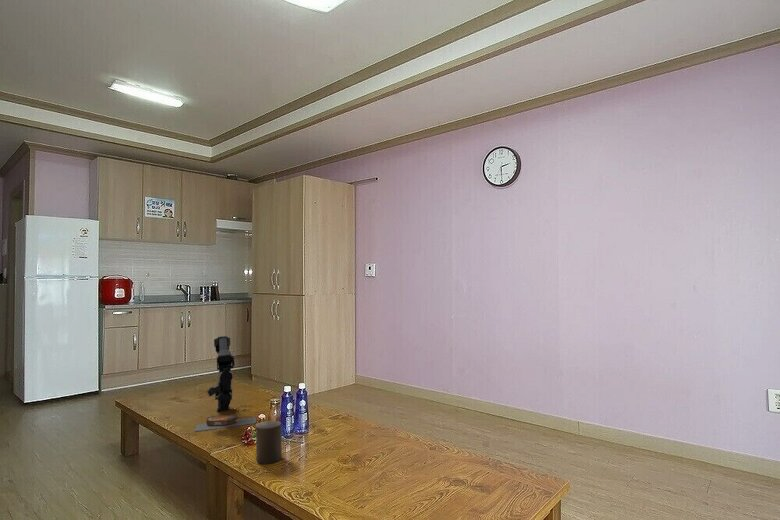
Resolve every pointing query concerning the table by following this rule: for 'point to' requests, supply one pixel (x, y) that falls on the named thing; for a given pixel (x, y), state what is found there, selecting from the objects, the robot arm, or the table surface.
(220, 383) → the robot arm
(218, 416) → the tin
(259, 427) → the pillar candle
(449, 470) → the table surface
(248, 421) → the mat
